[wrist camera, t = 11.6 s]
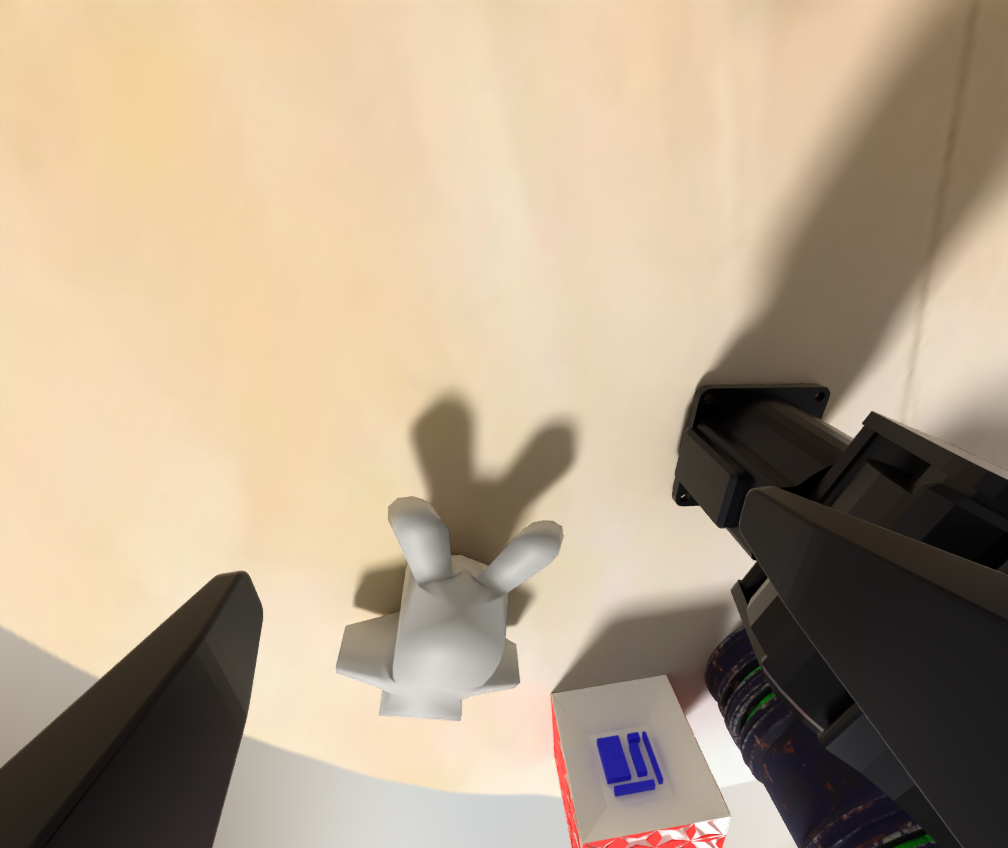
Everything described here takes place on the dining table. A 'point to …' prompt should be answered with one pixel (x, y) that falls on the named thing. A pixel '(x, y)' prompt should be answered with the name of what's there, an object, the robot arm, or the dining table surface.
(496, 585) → the grey figurine
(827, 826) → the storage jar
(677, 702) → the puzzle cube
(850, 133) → the dining table surface
